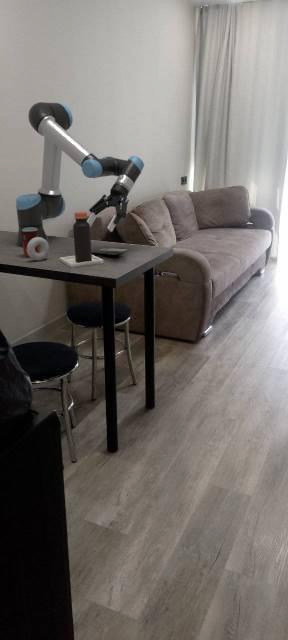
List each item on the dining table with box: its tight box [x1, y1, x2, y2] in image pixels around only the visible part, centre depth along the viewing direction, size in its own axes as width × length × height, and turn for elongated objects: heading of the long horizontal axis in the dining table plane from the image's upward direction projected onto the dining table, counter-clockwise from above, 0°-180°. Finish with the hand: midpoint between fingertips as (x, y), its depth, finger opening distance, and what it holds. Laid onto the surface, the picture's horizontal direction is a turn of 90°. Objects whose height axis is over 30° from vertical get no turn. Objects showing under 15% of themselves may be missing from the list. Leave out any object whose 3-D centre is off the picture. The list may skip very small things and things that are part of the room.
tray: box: [59, 254, 104, 269], centre depth 209 cm, size 14×14×2 cm
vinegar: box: [72, 211, 93, 263], centre depth 205 cm, size 7×7×20 cm
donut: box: [27, 237, 50, 261], centre depth 212 cm, size 10×4×10 cm, turn 128°
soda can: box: [22, 227, 41, 258], centre depth 220 cm, size 7×7×12 cm
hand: (98, 228), depth 212 cm, fingers open, 13 cm apart
